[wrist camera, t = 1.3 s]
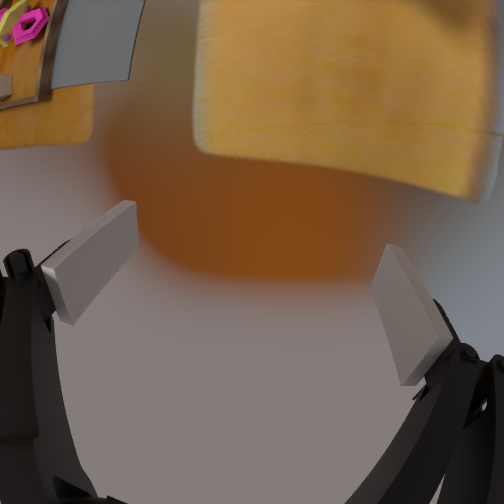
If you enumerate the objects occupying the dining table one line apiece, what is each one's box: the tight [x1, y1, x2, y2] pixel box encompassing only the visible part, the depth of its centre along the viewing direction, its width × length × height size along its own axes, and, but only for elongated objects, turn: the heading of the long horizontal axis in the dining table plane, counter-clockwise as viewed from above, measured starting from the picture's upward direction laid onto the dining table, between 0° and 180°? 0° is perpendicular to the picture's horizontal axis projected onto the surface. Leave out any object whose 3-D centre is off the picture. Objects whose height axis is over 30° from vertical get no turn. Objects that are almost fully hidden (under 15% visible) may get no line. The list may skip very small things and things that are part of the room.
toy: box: [0, 0, 49, 47], centre depth 21 cm, size 10×18×10 cm, turn 56°
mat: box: [51, 0, 146, 89], centre depth 26 cm, size 24×18×1 cm
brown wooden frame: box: [0, 0, 69, 110], centre depth 24 cm, size 32×26×4 cm
